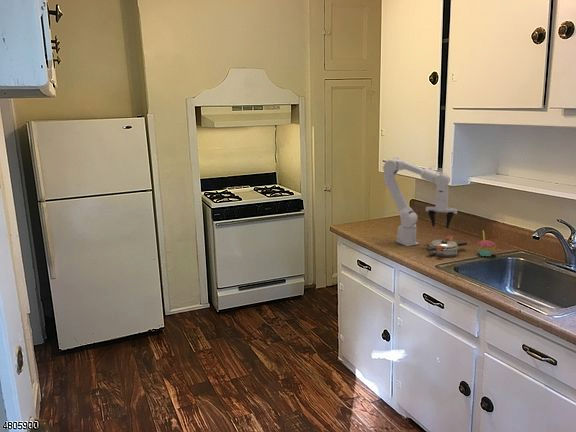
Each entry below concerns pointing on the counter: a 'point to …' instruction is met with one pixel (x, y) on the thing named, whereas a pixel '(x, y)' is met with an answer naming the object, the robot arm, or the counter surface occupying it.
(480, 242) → the cupcake
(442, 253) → the pot
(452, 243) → the lid
